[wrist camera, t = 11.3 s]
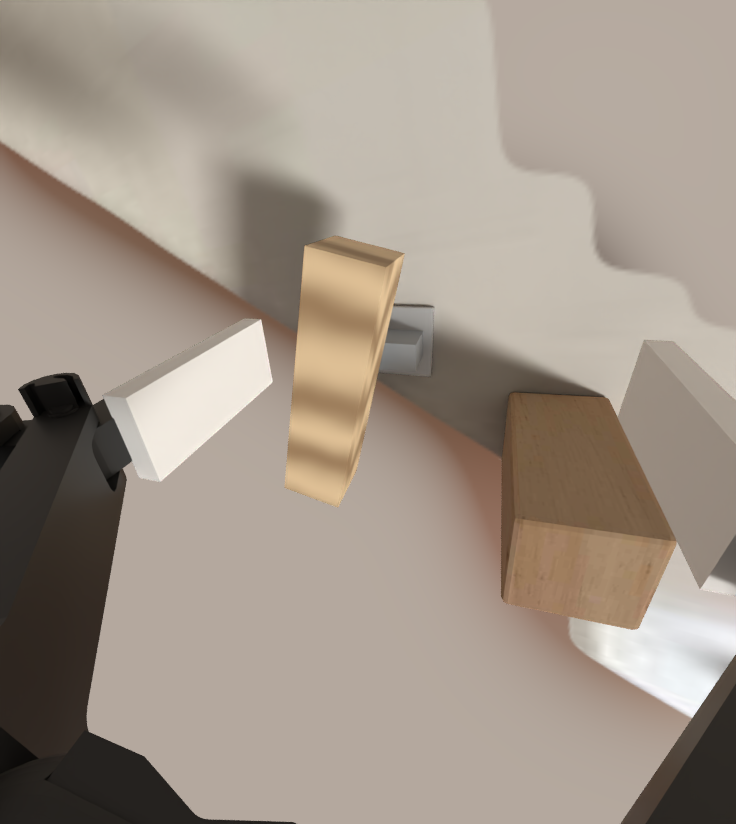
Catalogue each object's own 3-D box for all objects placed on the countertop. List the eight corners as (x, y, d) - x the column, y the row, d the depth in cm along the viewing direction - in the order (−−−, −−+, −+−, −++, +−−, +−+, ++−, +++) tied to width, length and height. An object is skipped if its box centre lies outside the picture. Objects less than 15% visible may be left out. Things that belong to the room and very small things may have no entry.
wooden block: (501, 461, 48) (500, 605, 32) (509, 390, 43) (513, 517, 27) (590, 470, 45) (639, 634, 29) (609, 395, 40) (682, 542, 24)
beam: (335, 235, 32) (304, 245, 27) (404, 253, 31) (386, 267, 26) (308, 454, 45) (284, 487, 40) (356, 470, 44) (337, 507, 39)
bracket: (314, 303, 45) (277, 327, 38) (434, 307, 41) (419, 334, 34) (321, 366, 49) (289, 399, 42) (431, 374, 45) (417, 412, 38)
